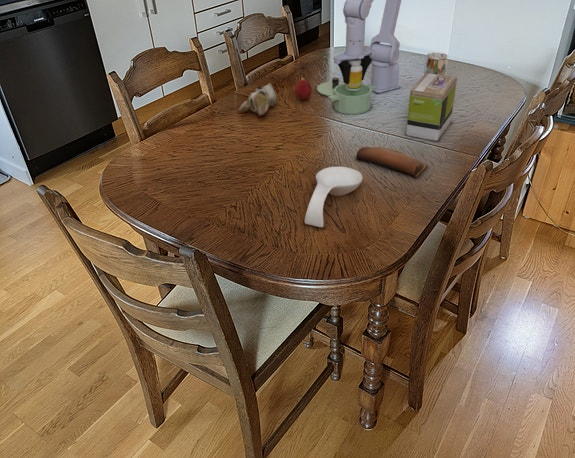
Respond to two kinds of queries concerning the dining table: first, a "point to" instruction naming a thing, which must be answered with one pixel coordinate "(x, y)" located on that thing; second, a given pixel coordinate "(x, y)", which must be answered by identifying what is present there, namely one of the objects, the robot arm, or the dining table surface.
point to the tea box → (431, 106)
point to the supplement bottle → (355, 76)
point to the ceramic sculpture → (259, 100)
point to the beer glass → (436, 63)
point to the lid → (329, 87)
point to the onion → (303, 89)
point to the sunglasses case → (391, 159)
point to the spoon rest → (330, 190)
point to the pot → (352, 99)
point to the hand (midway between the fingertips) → (353, 81)
